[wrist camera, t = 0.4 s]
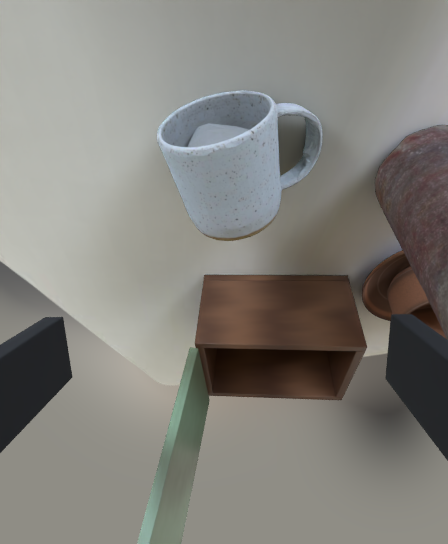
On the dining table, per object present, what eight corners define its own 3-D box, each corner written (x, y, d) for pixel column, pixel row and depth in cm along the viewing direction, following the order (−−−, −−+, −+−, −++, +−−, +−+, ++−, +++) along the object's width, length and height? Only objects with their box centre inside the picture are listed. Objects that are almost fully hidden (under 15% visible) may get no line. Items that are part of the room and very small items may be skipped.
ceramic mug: (198, 199, 29) (188, 258, 24) (166, 104, 24) (143, 154, 18) (320, 176, 27) (339, 236, 22) (317, 66, 22) (340, 111, 16)
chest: (347, 275, 35) (367, 347, 29) (329, 335, 44) (341, 400, 38) (204, 274, 37) (194, 343, 30) (212, 332, 45) (206, 395, 39)
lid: (136, 595, 19) (123, 591, 19) (171, 592, 27) (162, 590, 27) (198, 348, 30) (189, 347, 30) (209, 399, 38) (202, 399, 39)
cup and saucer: (455, 308, 38) (481, 356, 34) (349, 309, 39) (360, 355, 35) (510, 227, 30) (554, 277, 25) (372, 231, 31) (391, 280, 27)
